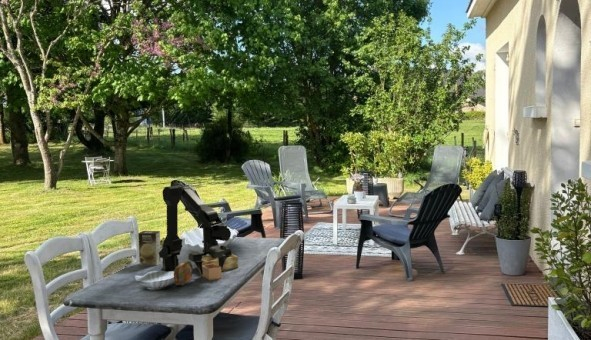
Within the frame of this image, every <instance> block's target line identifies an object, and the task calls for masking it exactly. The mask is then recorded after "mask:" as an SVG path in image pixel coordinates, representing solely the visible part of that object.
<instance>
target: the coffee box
mask: <svg viewBox="0 0 591 340" xmlns="http://www.w3.org/2000/svg"><path fill="white" fill-rule="evenodd" d="M160 251H161V231H159V230H142V231H140V232H139V233H138V255H139V256H138V257H139V260H138V261H139V266H158V265H159V264H161V263H162V258H160V256H159V252H160Z"/></svg>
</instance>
